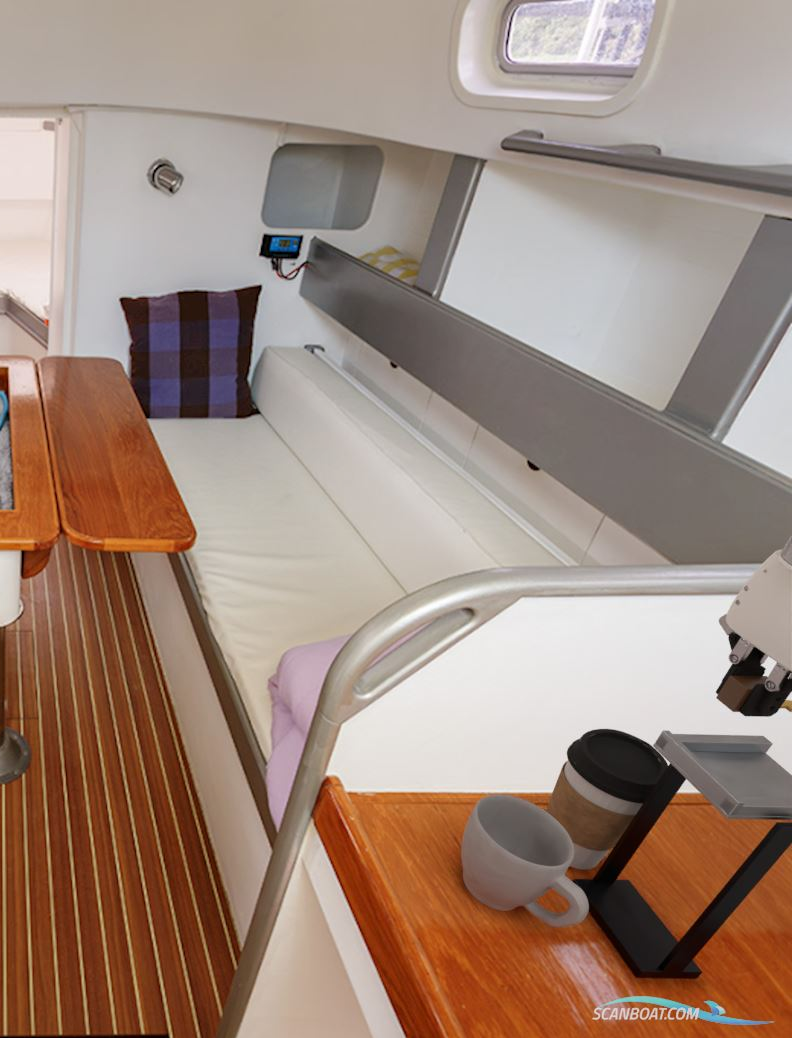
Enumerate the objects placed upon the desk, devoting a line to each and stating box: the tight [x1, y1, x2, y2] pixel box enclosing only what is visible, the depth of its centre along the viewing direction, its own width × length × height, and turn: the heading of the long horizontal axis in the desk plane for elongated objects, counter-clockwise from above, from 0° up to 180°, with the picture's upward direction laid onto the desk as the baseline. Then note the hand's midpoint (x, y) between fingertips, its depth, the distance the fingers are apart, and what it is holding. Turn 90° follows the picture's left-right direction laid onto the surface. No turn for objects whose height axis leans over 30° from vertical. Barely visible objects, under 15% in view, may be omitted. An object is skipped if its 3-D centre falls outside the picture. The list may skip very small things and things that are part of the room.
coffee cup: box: [545, 728, 669, 871], centre depth 80 cm, size 8×8×15 cm
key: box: [715, 675, 792, 713], centre depth 78 cm, size 8×2×3 cm, turn 90°
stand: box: [571, 762, 792, 980], centre depth 69 cm, size 6×10×22 cm, turn 0°
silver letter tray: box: [652, 729, 792, 821], centre depth 64 cm, size 10×8×2 cm
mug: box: [460, 793, 589, 928], centre depth 75 cm, size 12×9×10 cm
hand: (743, 703), depth 79 cm, fingers closed on key, 2 cm apart
